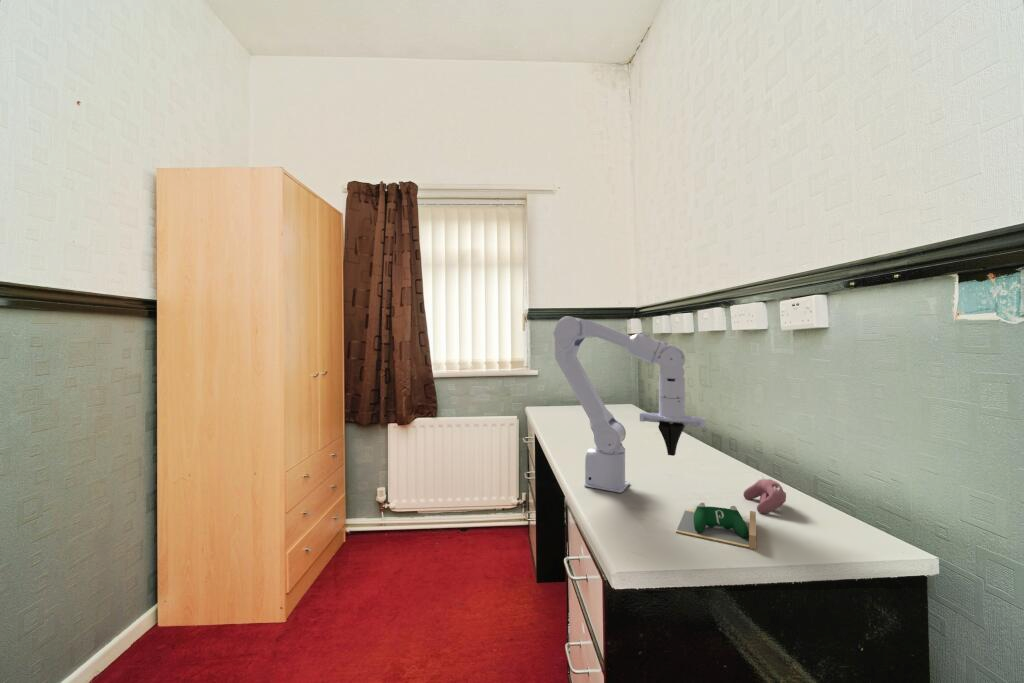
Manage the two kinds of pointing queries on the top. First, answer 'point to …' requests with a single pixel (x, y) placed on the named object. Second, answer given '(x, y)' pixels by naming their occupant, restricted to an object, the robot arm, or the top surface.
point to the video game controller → (766, 495)
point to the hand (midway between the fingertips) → (671, 454)
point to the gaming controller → (720, 519)
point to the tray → (719, 531)
